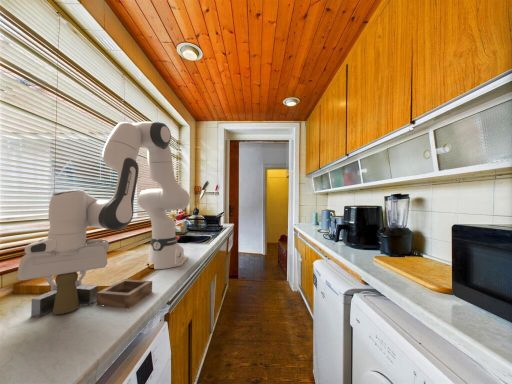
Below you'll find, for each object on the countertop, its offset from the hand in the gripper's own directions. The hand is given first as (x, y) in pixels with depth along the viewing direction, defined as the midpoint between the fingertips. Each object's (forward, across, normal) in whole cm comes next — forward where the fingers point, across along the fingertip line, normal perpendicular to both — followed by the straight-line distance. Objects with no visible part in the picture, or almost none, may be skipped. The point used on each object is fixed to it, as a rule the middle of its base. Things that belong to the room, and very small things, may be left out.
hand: (66, 287), depth 65 cm
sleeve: (+7, -16, +1) cm, 17 cm away
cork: (+6, 0, 0) cm, 7 cm away
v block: (+7, 0, -4) cm, 8 cm away
